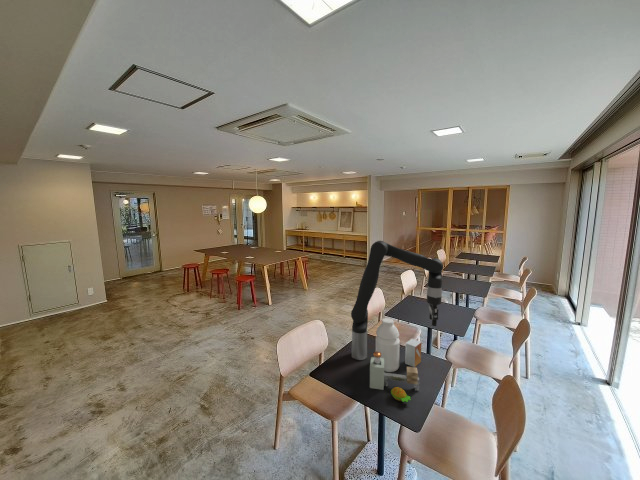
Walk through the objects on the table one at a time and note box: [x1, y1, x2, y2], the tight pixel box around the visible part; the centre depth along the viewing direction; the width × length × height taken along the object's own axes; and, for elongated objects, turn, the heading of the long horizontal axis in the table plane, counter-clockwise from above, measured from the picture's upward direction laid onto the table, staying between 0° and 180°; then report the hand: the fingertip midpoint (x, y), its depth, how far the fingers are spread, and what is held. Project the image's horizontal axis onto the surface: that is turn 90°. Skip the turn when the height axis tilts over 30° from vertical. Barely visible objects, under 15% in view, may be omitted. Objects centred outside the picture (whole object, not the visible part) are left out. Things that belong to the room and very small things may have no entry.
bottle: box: [374, 317, 401, 373], centre depth 157 cm, size 14×14×28 cm
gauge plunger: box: [373, 351, 381, 365], centre depth 141 cm, size 4×4×9 cm
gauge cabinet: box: [369, 356, 385, 391], centre depth 142 cm, size 7×9×12 cm
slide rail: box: [384, 372, 420, 392], centre depth 139 cm, size 18×2×6 cm, turn 75°
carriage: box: [406, 366, 419, 385], centre depth 137 cm, size 5×5×6 cm
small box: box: [404, 338, 423, 368], centre depth 159 cm, size 8×6×13 cm
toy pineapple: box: [390, 386, 412, 403], centre depth 129 cm, size 7×10×5 cm
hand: (432, 322), depth 150 cm, fingers open, 8 cm apart
